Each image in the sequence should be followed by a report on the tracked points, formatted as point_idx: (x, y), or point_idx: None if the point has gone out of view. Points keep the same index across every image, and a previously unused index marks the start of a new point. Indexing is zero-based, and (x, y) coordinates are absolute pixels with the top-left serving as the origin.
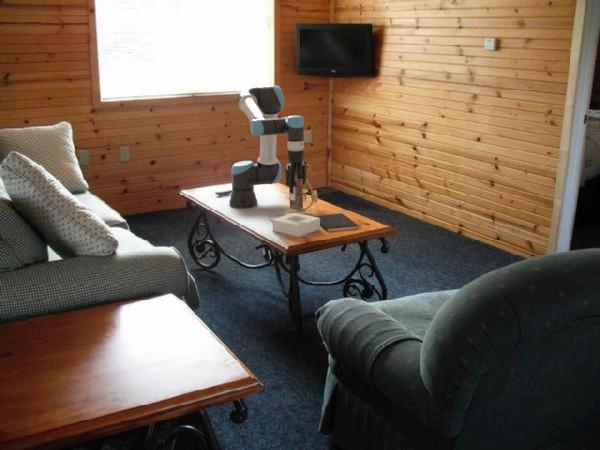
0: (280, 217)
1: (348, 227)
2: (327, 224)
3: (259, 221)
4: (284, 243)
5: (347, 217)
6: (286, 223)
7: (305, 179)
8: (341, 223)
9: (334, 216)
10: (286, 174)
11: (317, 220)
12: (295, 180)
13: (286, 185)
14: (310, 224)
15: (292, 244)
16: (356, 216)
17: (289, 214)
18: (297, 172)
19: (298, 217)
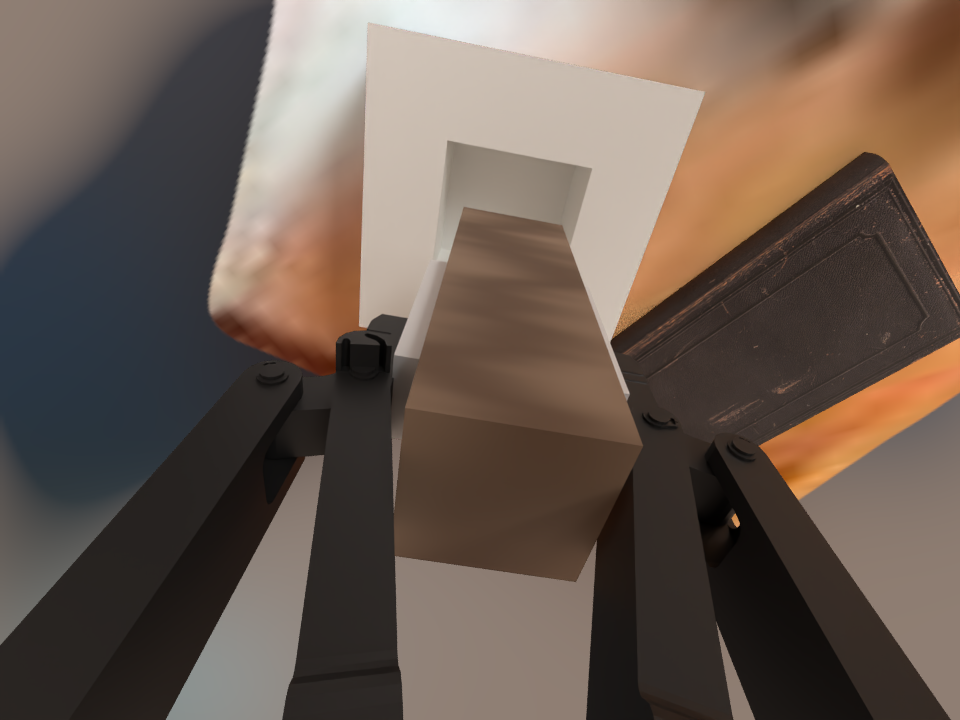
0: (478, 58)
1: None
2: (655, 353)
3: None
4: (245, 264)
5: (851, 392)
6: (364, 211)
7: (716, 542)
8: (700, 409)
9: (870, 317)
10: (69, 602)
11: None
12: (398, 534)
13: (272, 360)
14: None
15: (264, 311)
16: (954, 388)
17: (616, 87)
18: (619, 659)
19: (580, 204)
